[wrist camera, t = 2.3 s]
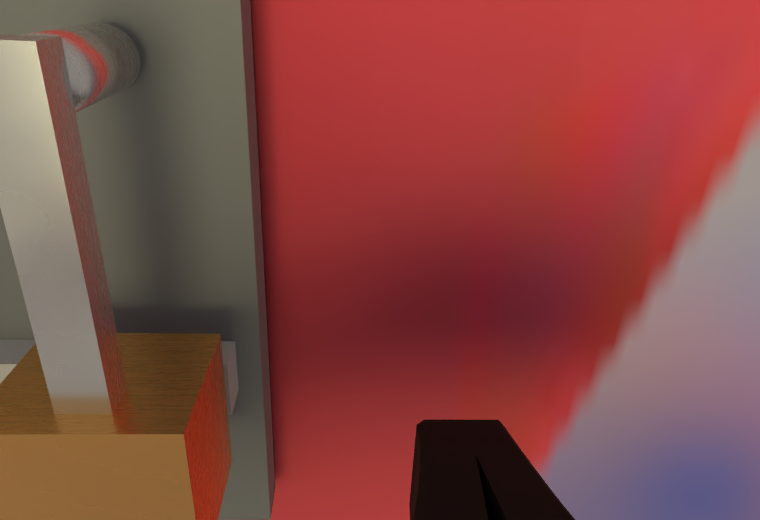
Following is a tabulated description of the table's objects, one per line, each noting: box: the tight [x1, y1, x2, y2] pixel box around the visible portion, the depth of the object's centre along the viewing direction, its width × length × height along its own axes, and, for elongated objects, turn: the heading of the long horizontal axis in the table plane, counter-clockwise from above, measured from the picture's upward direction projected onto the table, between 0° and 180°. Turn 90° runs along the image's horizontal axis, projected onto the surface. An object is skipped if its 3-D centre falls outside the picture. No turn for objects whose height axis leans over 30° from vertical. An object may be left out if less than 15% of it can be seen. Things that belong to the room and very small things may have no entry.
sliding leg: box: [0, 22, 232, 520], centre depth 9 cm, size 3×8×3 cm, turn 178°
